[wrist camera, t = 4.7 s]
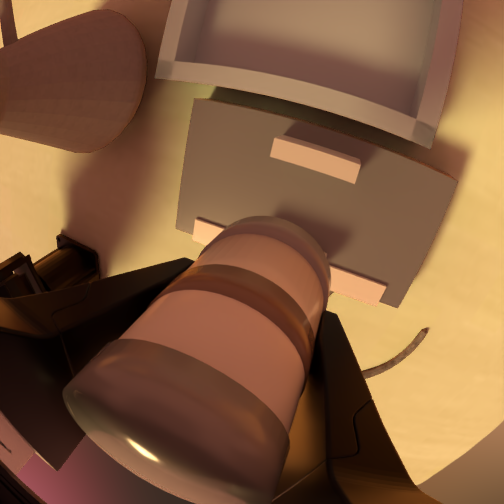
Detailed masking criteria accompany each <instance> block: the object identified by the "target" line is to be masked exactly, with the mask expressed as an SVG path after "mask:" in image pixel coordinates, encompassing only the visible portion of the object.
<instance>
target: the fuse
mask: <svg viewBox="0 0 504 504" xmlns="http://www.w3.org/2000/svg"><path fill="white" fill-rule="evenodd" d="M330 287H331V271H330V266H329V263H328V260H327V257H326V255H325V253H324V251H323V250H322V248H321V247H320V245H319V244H318V243H317V242H316V240H315V239H314V238H313V237H312V236H311V235H310V234H309V233H307V232H306V231H305V230H303V229H302V228H301V227H299V226H297V225H295V224H294V223H292V222H289V221H287V220H284V219H281V218H277V217H272V216H251V217H246V218H243V219H240V220H238V221H235V222H233V223H232V224H230V225H229V226H227V227H226V228H225V229H224V230H223V231H222V232H221V233H219V234H218V235H217V236H216V237H215V238H214V239H213V240H212V241H211V242H210V243H209V244H208V245H207V246H206V247H205V248H204V249H203V250H202V252H201V253H200V255H199V257H198V259H197V260H196V261H195V262H194V263H193V264H192V265H191V266H190V267H189V268H188V269H187V270H186V271H185V272H183V273H181V274H180V275H179V276H177V277H176V278H175V279H174V280H173V281H172V282H171V283H170V284H169V285H168V286H167V287H166V288H165V289H164V290H163V291H162V292H161V293H160V294H159V295H158V296H157V297H156V298H155V299H154V300H153V301H152V302H151V303H150V305H149V306H148V307H147V310H146V311H145V312H144V313H143V314H142V315H141V316H140V317H139V318H138V319H137V320H136V321H135V322H134V323H133V324H132V325H131V326H130V327H129V328H128V329H127V331H126V332H125V333H124V334H123V335H122V336H121V337H120V338H119V339H118V340H113V341H111V342H109V343H107V344H106V345H105V346H104V347H103V348H102V349H101V350H100V351H99V352H98V353H97V354H96V355H95V356H94V357H93V358H92V359H91V360H90V361H89V362H88V363H87V364H86V365H85V366H84V368H83V369H82V370H81V371H80V372H79V373H78V374H77V375H76V376H75V377H74V378H73V379H72V380H71V381H70V382H69V383H68V384H67V386H66V387H65V388H64V389H63V399H64V402H65V405H66V407H67V409H68V410H69V412H70V414H71V415H72V417H73V418H74V420H75V421H76V422H77V424H78V425H79V426H80V427H81V429H82V430H83V431H84V432H85V433H86V434H87V435H88V436H89V437H90V438H91V439H92V440H93V441H94V442H95V443H96V444H97V445H98V446H99V447H100V448H101V449H102V450H104V451H105V452H106V453H107V454H108V455H110V456H111V457H112V458H113V459H114V460H116V461H117V462H118V463H120V464H121V465H123V466H124V467H125V468H127V469H128V470H130V471H131V472H133V473H134V474H136V475H137V476H139V477H140V478H142V479H144V480H146V481H147V482H149V483H151V484H153V485H155V486H156V487H158V488H160V489H162V490H164V491H166V492H168V493H171V494H173V495H175V496H177V497H180V498H182V499H185V500H188V501H190V502H193V503H196V504H271V502H272V500H273V497H274V494H275V491H276V489H277V486H278V483H279V480H280V477H281V474H282V471H283V468H284V465H285V462H286V459H287V456H288V453H289V450H290V439H289V433H290V430H291V427H292V423H293V420H294V417H295V413H296V410H297V407H298V403H299V400H300V397H301V396H302V394H303V392H304V390H305V387H306V383H307V379H308V376H309V372H310V368H311V364H312V360H313V356H314V351H315V340H316V336H317V332H318V327H319V323H320V319H321V315H322V313H323V311H325V310H326V307H327V302H328V297H329V292H330Z"/></svg>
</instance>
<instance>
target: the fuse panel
mask: <svg viewBox="0 0 504 504" xmlns="http://www.w3.org/2000/svg"><path fill="white" fill-rule="evenodd" d="M457 183H458V181H457V180H455V179H454V178H453V177H451V176H450V175H449V174H447V173H444V172H442V171H440V170H438V169H436V168H434V167H432V166H429V165H427V164H425V163H423V162H420V161H418V160H416V159H413V158H411V157H409V156H406V155H404V154H401V153H399V152H396V151H394V150H391V149H389V148H386V147H384V146H381V145H378V144H376V143H373V142H370V141H367V140H365V139H362V138H359V137H356V136H353V135H350V134H347V133H344V132H341V131H338V130H335V129H332V128H329V127H325V126H322V125H319V124H315V123H312V122H309V121H305V120H301V119H298V118H294V117H290V116H287V115H283V114H279V113H275V112H271V111H267V110H262V109H258V108H254V107H249V106H244V105H240V104H235V103H230V102H224V101H219V100H213V99H201V98H194V103H193V109H192V114H191V120H190V126H189V132H188V138H187V144H186V151H185V157H184V164H183V171H182V179H181V186H180V194H179V202H178V211H177V220H176V229H178V230H181V231H183V232H186V233H189V234H192V235H193V239H192V240H193V241H195V242H198V243H201V244H204V245H206V246H207V245H208V244H209V243H210V242H211V241H212V240H213V239H214V238H215V237H216V236H217V235H218V234H219V233H221V232H222V231H223V230H224V229H225V228H226V227H227V226H229V225H230V224H232V223H233V222H235V221H238V220H240V219H243V218H246V217H251V216H272V217H277V218H281V219H284V220H287V221H289V222H292V223H294V224H295V225H297V226H299V227H301V228H302V229H303V230H305V231H306V232H307V233H309V234H310V235H311V236H312V237H313V238H314V239H315V240H316V242H317V243H318V244H319V245H320V247H321V248H322V250H323V251H324V253H325V255H326V257H327V260H328V263H329V266H330V271H331V287H330V290H331V291H333V292H336V293H339V294H342V295H345V296H347V297H350V298H353V299H356V300H359V301H362V302H364V303H367V304H370V305H373V306H377V304H378V302H381V303H384V304H387V305H390V306H392V307H395V308H398V307H399V305H400V303H401V302H402V300H403V298H404V296H405V295H406V293H407V291H408V289H409V287H410V285H411V284H412V282H413V280H414V278H415V276H416V274H417V272H418V270H419V268H420V266H421V265H422V263H423V261H424V259H425V257H426V254H427V252H428V250H429V248H430V246H431V244H432V242H433V240H434V238H435V236H436V233H437V231H438V229H439V227H440V224H441V222H442V220H443V218H444V215H445V213H446V210H447V208H448V206H449V203H450V201H451V198H452V196H453V193H454V191H455V188H456V185H457Z"/></svg>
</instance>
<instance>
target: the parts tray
mask: <svg viewBox="0 0 504 504" xmlns="http://www.w3.org/2000/svg"><path fill="white" fill-rule="evenodd" d="M462 9H463V0H172V2H171V6H170V10H169V14H168V17H167V22H166V26H165V30H164V34H163V39H162V43H161V48H160V53H159V57H158V62H157V68H156V73H155V78H154V79H166V80H176V81H185V82H193V83H200V84H207V85H214V86H220V87H226V88H232V89H237V90H243V91H248V92H253V93H258V94H262V95H267V96H271V97H276V98H280V99H284V100H288V101H292V102H296V103H300V104H304V105H307V106H311V107H315V108H318V109H322V110H325V111H328V112H332V113H335V114H338V115H341V116H344V117H348V118H351V119H354V120H357V121H359V122H362V123H365V124H368V125H371V126H374V127H376V128H379V129H382V130H384V131H387V132H390V133H392V134H395V135H397V136H400V137H402V138H405V139H407V140H409V141H412V142H414V143H417V144H419V145H421V146H423V147H426V148H428V149H431V146H432V143H433V140H434V137H435V133H436V130H437V127H438V123H439V120H440V116H441V113H442V109H443V106H444V102H445V98H446V94H447V90H448V86H449V82H450V77H451V73H452V68H453V63H454V58H455V53H456V48H457V42H458V37H459V30H460V24H461V17H462Z"/></svg>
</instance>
